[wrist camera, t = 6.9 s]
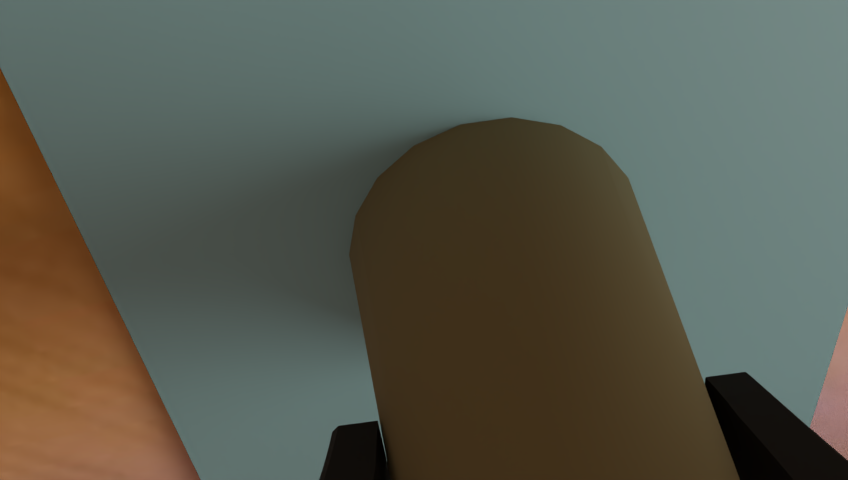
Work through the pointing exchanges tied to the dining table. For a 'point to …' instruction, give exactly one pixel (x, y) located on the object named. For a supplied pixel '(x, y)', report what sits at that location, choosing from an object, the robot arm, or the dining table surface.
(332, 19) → the teal board
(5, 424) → the dining table surface
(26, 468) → the dining table surface
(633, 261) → the olive game pawn
